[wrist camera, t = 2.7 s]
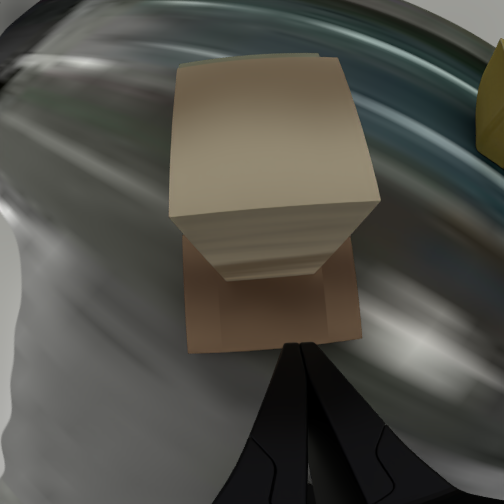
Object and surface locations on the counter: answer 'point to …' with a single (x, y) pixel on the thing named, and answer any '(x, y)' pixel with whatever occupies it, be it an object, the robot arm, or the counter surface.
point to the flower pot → (491, 109)
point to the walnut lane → (268, 296)
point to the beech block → (268, 164)
